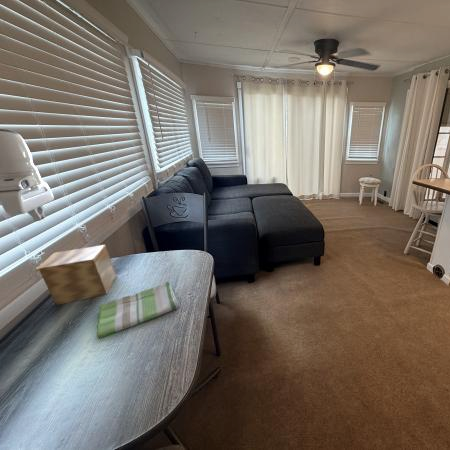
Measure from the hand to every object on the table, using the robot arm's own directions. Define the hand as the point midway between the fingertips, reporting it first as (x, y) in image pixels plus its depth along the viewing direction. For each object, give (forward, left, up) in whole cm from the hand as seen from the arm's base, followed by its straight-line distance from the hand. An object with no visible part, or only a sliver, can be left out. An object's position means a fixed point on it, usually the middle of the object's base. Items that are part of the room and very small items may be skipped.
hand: (40, 219), depth 84 cm
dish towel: (+27, -23, -31) cm, 47 cm away
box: (+5, 0, -31) cm, 32 cm away
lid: (+5, 0, -16) cm, 17 cm away
